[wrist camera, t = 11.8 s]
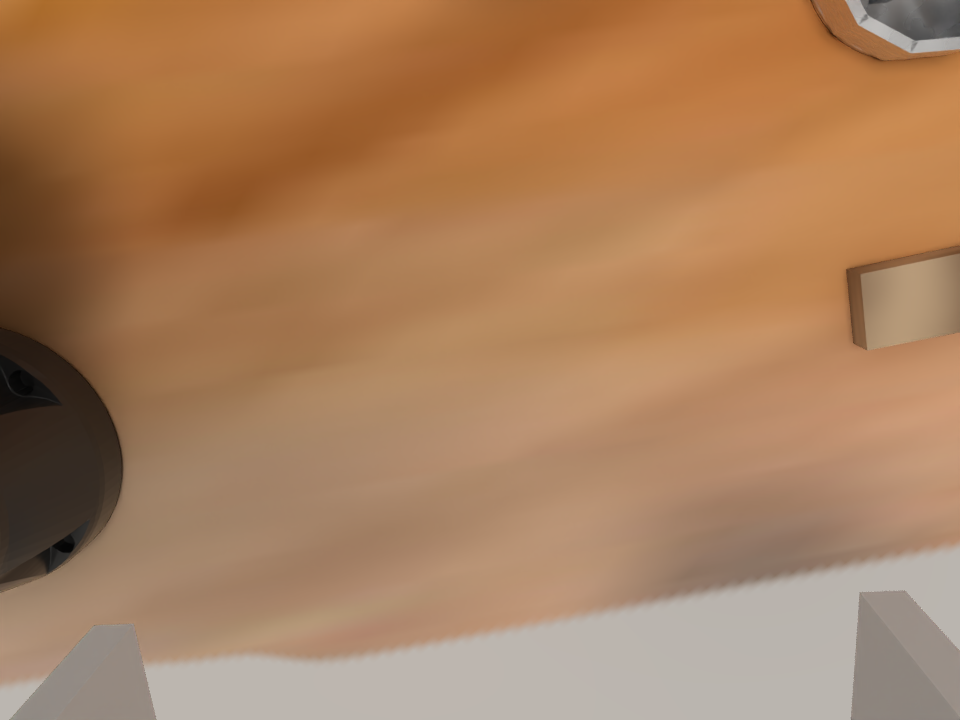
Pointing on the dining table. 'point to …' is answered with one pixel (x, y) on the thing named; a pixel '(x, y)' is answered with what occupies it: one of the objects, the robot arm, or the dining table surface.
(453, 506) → the dining table surface
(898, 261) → the tan rectangular slab
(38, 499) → the robot arm
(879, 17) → the tin
